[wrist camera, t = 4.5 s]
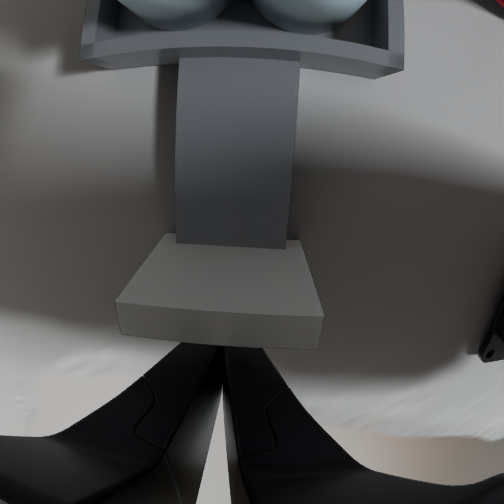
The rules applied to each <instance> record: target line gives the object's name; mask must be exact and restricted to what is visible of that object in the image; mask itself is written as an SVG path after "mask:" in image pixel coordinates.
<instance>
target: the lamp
mask: <svg viewBox="0 0 504 504" xmlns="http://www.w3.org/2000/svg"><path fill="white" fill-rule="evenodd" d="M79 61H83V62H87V63H90V64H94V65H98V66H101V67H105V68H108V69H112V70H115V69H123V68H131V67H141V66H152V65H166V64H179V72H178V89H177V110H176V140H175V226H176V233H166V234H165V235H164V236H163V238H162V239H161V240H160V241H159V243H158V244H157V245H156V247H155V248H154V249H153V251H152V252H151V253H150V254H149V256H148V257H147V258H146V260H145V261H144V262H143V264H142V265H141V266H140V268H139V269H138V270H137V272H136V273H135V274H134V276H133V277H132V279H131V280H130V281H129V283H128V284H127V285H126V287H125V288H124V290H123V291H122V292H121V294H120V295H119V297H118V298H117V299H116V301H115V305H116V311H117V316H118V322H119V327H120V332H121V334H122V335H129V336H136V337H143V338H151V339H160V340H168V341H178V342H188V343H198V344H210V345H223V346H237V347H254V348H277V349H318V344H319V340H320V335H321V331H322V326H323V321H324V314H323V310H322V307H321V304H320V301H319V297H318V294H317V291H316V288H315V285H314V282H313V279H312V275H311V272H310V269H309V266H308V263H307V260H306V257H305V254H304V251H303V248H302V245H301V242H300V240H286V237H287V227H288V217H289V206H290V195H291V184H292V172H293V160H294V147H295V134H296V120H297V105H298V89H299V73H300V68H308V69H316V70H324V71H331V72H337V73H344V74H349V75H355V76H360V77H366V78H371V79H377V78H380V77H383V76H387V75H390V74H393V73H396V72H400V71H403V70H404V8H403V0H367V1H366V2H365V3H364V4H363V5H362V6H361V7H360V8H359V9H358V10H357V11H356V12H355V13H354V15H353V16H352V17H351V18H350V19H349V20H348V21H347V22H346V23H345V24H343V25H342V26H341V27H339V28H337V29H335V30H333V31H331V32H327V33H323V34H317V35H303V34H297V33H293V32H289V31H286V30H283V29H281V28H279V27H277V26H275V25H273V24H272V23H270V22H269V21H267V20H266V19H265V18H264V17H263V16H262V15H261V14H260V13H259V12H258V11H257V10H256V8H255V7H254V5H253V3H252V0H233V1H232V3H231V4H230V5H229V7H228V8H227V9H226V10H225V11H224V12H223V13H222V14H221V15H220V16H218V17H217V18H216V19H214V20H212V21H211V22H209V23H207V24H205V25H203V26H200V27H197V28H194V29H190V30H185V31H166V30H161V29H158V28H155V27H153V26H151V25H149V24H148V23H146V22H145V21H144V20H142V19H141V18H140V17H139V16H137V15H136V14H135V13H133V12H132V11H131V10H130V9H128V8H127V7H126V6H124V5H123V4H122V3H120V2H119V1H118V0H87V4H86V10H85V16H84V22H83V29H82V37H81V45H80V55H79Z"/></svg>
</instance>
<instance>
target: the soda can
mask: <svg viewBox="0 0 504 504" xmlns="http://www.w3.org/2000/svg"><path fill="white" fill-rule="evenodd" d="M496 1H497V2H498V3H499V4H500V5H501V6H502V7H503V8H504V0H496Z"/></svg>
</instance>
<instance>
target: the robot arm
mask: <svg viewBox="0 0 504 504" xmlns="http://www.w3.org/2000/svg"><path fill="white" fill-rule="evenodd" d="M478 356H479V358H480V359H481V360H482V362H485V363H486V362H492V361H498V360H504V294H503V297H502V299H501V302H500V304H499V307H498V309H497V311H496V314H495V316H494V319H493V321H492V323H491V325H490V328H489V330H488V332H487V334H486V336H485V338H484V340H483V343H482V345H481V347H480V349H479V351H478ZM222 386H223V410H224V424H225V436H226V450H227V461H228V472H229V473H228V474H229V485H230V496H231V504H504V473H501V474H497V475H495V476H492V477H490V478H488V479H485V480H483V481H480V482H477V483H474V484H468V485H455V486H451V485H442V484H435V483H429V482H423V481H417V480H413V479H407V478H402V477H398V476H393V475H389V474H385V473H381V472H377V471H373V470H371V469H369V468H366V467H365V466H363V465H361V464H360V463H358V462H357V461H356V460H354V459H353V458H352V457H351V456H350V455H349V454H348V453H347V452H346V451H345V450H344V449H343V448H342V447H341V446H340V445H339V444H338V443H337V442H336V441H335V440H334V439H333V438H332V437H331V436H330V435H329V434H328V433H327V432H326V431H325V430H324V429H323V428H322V427H321V426H320V425H319V424H318V423H317V422H316V421H315V420H314V418H313V417H312V416H311V415H310V414H309V413H308V412H307V411H306V409H305V408H304V407H303V406H302V404H301V403H300V402H299V400H298V399H297V398H296V396H295V395H294V393H293V392H292V391H291V389H290V388H288V385H287V384H286V382H285V381H284V379H283V378H282V376H281V375H280V373H279V372H278V371H277V369H276V368H275V366H274V365H273V363H272V362H271V360H270V359H269V357H268V356H267V354H266V353H265V351H264V350H263V348H254V347H237V346H223V345H210V344H198V343H188V342H181V343H180V344H178V345H177V346H176V347H175V348H174V349H173V350H172V351H170V352H169V353H168V354H167V355H166V356H165V357H163V358H162V359H161V360H160V361H159V362H158V363H157V364H155V365H154V366H153V367H152V368H151V369H150V370H148V371H147V372H146V373H145V374H144V375H143V376H141V377H140V378H139V379H138V380H137V381H135V382H134V383H133V384H132V385H131V386H129V387H128V388H127V389H126V390H124V391H123V392H122V393H120V394H119V395H118V396H116V397H115V398H113V399H112V400H111V401H109V402H108V403H106V404H105V405H103V406H102V407H100V408H99V409H97V410H95V411H94V412H92V413H91V414H89V415H88V416H86V417H85V418H83V419H81V420H80V421H78V422H77V423H75V424H73V425H72V426H70V427H69V428H67V429H65V430H63V431H61V432H59V433H57V434H54V435H50V436H44V437H22V436H3V435H0V504H196V501H197V497H198V493H199V488H200V484H201V480H202V475H203V471H204V467H205V463H206V458H207V454H208V450H209V446H210V441H211V437H212V433H213V428H214V424H215V420H216V415H217V411H218V407H219V403H220V398H221V393H222Z"/></svg>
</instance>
